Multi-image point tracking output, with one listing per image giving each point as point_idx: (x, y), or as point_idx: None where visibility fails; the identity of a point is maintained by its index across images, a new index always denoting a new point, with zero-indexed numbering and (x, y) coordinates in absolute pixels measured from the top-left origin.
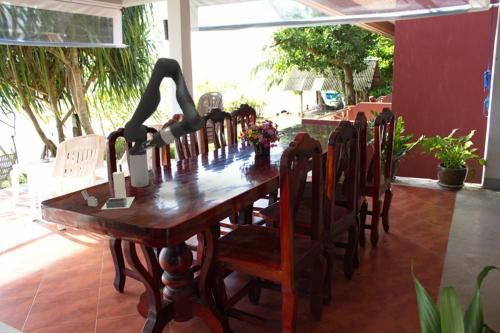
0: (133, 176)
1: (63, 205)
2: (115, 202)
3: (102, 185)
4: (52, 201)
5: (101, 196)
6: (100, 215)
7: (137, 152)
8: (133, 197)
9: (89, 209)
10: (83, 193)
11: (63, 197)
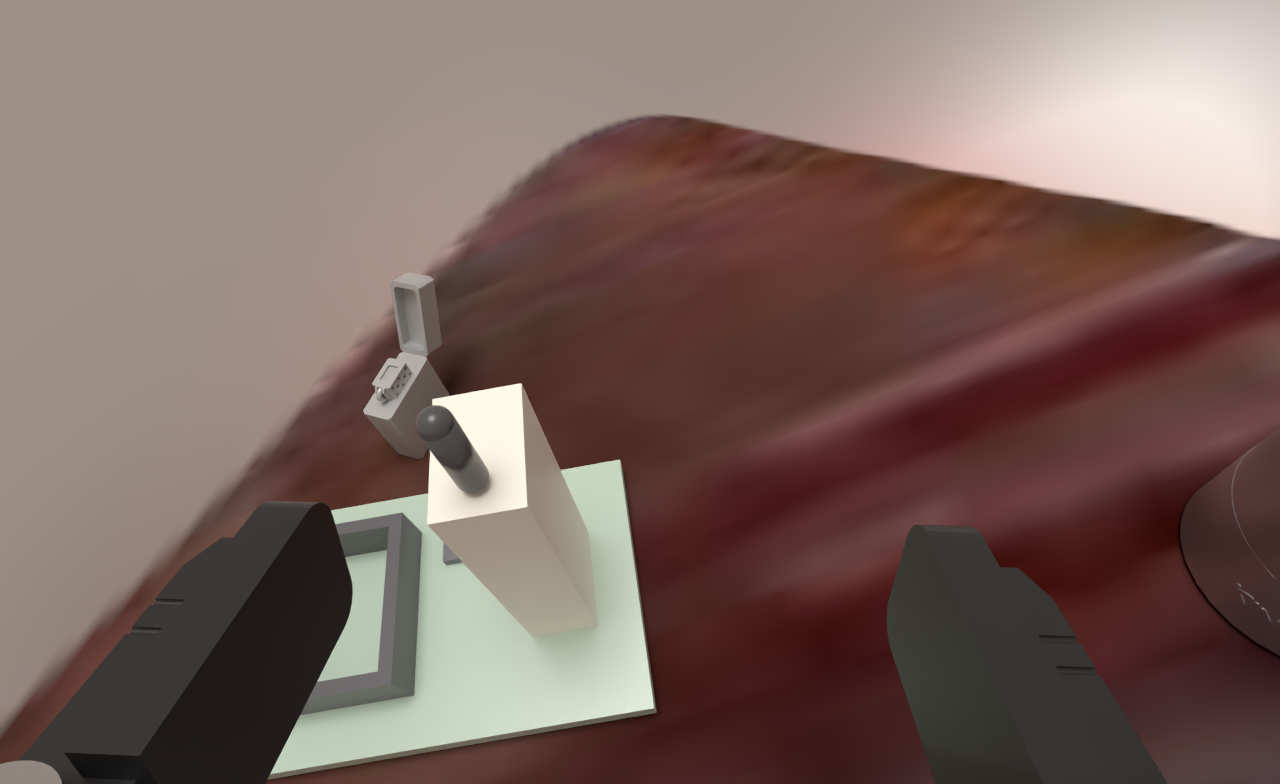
0: (1258, 466)
1: (535, 226)
2: None
3: (1128, 227)
4: (637, 140)
5: (765, 355)
6: None
7: (270, 747)
8: (632, 697)
9: None
10: (397, 296)
11: (731, 150)
